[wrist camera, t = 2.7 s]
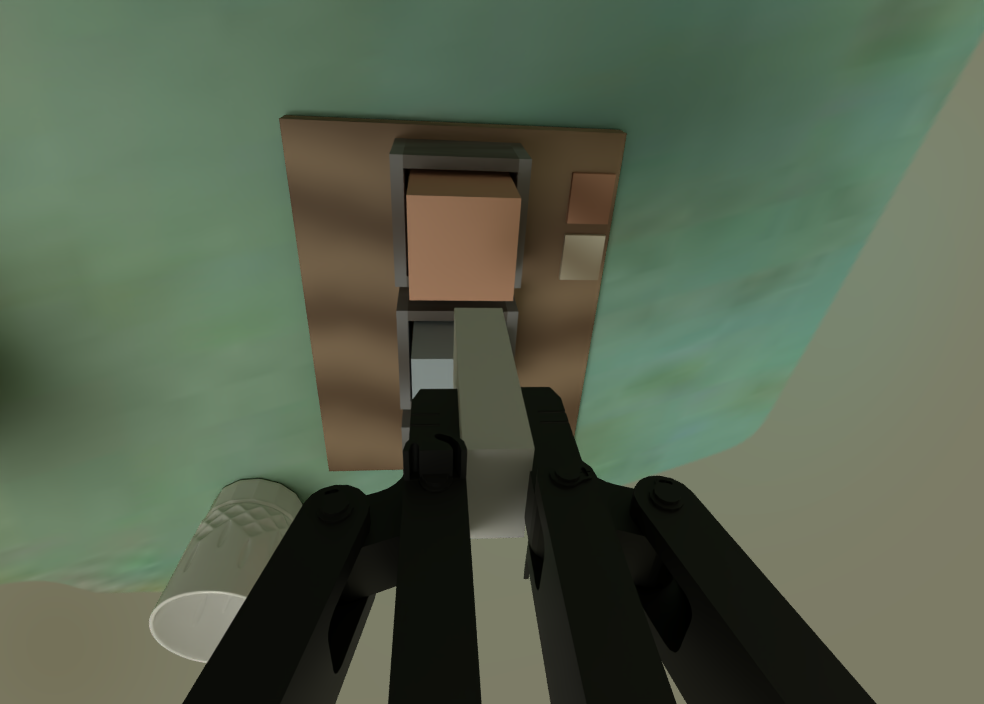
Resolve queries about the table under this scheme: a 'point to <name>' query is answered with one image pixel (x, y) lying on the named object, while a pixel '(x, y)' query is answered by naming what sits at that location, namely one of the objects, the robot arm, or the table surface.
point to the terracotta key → (462, 235)
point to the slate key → (432, 355)
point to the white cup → (222, 566)
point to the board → (385, 273)
